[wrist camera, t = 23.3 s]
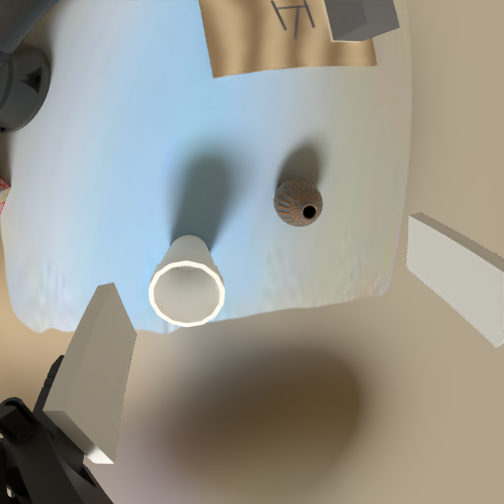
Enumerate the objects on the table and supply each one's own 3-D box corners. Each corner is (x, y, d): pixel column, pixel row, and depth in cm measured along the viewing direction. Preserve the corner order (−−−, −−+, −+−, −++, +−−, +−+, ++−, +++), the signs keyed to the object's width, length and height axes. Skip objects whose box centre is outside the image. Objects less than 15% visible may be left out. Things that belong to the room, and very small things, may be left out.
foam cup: (226, 267, 51) (235, 311, 39) (175, 287, 51) (171, 335, 39) (203, 215, 47) (205, 248, 35) (150, 238, 47) (135, 277, 35)
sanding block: (321, -2, 34) (353, -29, 24) (349, 0, 34) (385, -23, 24) (331, 41, 37) (367, 23, 27) (359, 42, 38) (399, 27, 27)
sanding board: (213, 78, 39) (213, 77, 37) (196, -12, 32) (196, -15, 31) (373, 65, 41) (376, 65, 39) (354, -16, 34) (357, -18, 33)
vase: (317, 208, 49) (339, 225, 41) (278, 224, 49) (293, 244, 41) (304, 168, 46) (325, 178, 38) (263, 184, 46) (277, 198, 38)
